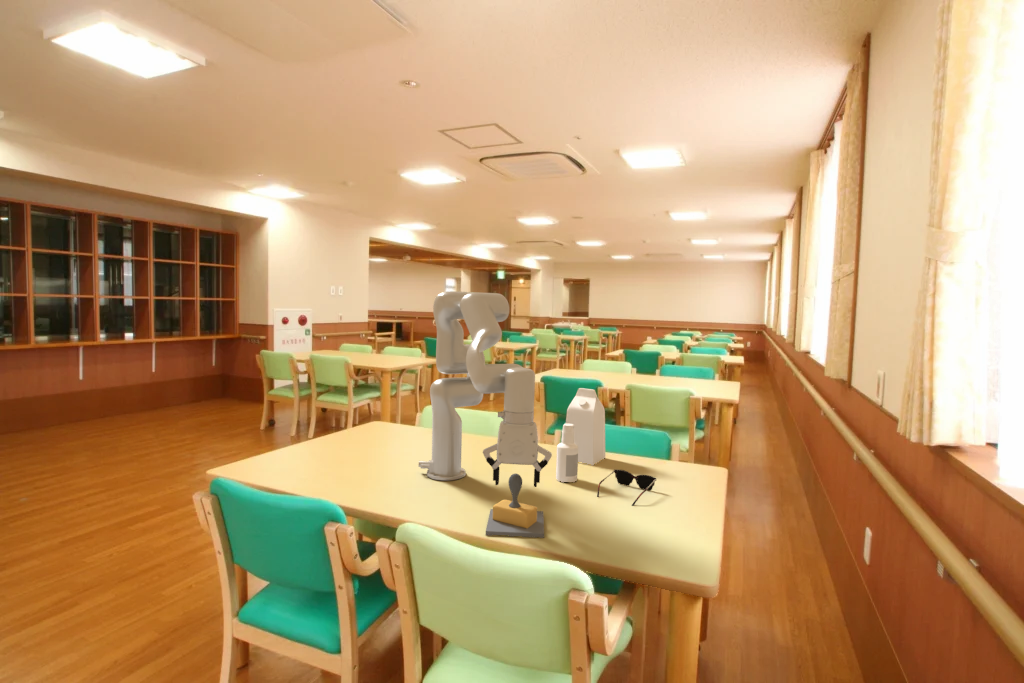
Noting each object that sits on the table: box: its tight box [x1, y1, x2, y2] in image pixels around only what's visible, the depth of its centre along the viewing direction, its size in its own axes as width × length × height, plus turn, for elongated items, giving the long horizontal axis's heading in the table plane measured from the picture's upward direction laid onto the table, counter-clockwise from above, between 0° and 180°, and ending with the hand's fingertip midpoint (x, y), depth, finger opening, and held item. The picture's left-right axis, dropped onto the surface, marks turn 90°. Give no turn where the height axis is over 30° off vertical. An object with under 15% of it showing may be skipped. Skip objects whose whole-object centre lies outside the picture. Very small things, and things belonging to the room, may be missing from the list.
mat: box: [485, 508, 545, 539], centre depth 132 cm, size 14×14×1 cm
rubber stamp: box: [492, 473, 538, 528], centre depth 132 cm, size 10×6×12 cm, turn 60°
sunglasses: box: [596, 469, 657, 507], centre depth 156 cm, size 14×16×5 cm
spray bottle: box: [555, 423, 579, 483], centre depth 168 cm, size 7×7×18 cm
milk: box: [565, 387, 606, 466], centre depth 192 cm, size 12×12×26 cm
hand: (516, 484), depth 132 cm, fingers open, 9 cm apart
